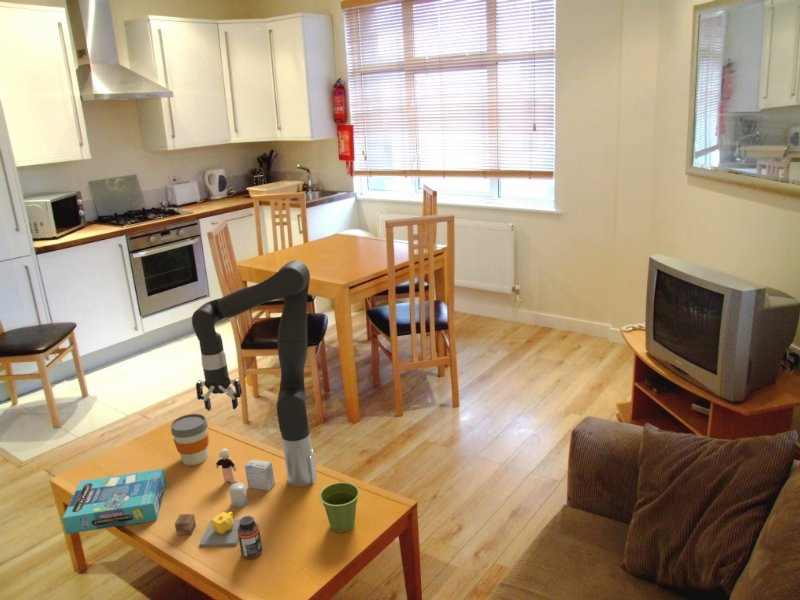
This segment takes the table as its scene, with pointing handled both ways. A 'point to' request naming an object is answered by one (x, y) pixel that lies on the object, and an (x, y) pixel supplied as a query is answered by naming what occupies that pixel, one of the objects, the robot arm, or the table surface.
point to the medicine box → (259, 475)
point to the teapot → (222, 522)
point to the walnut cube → (185, 524)
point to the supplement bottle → (249, 538)
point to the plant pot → (340, 505)
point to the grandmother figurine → (226, 467)
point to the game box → (115, 501)
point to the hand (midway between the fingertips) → (222, 409)
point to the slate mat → (220, 536)
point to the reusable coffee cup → (191, 438)
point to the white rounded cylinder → (238, 495)
